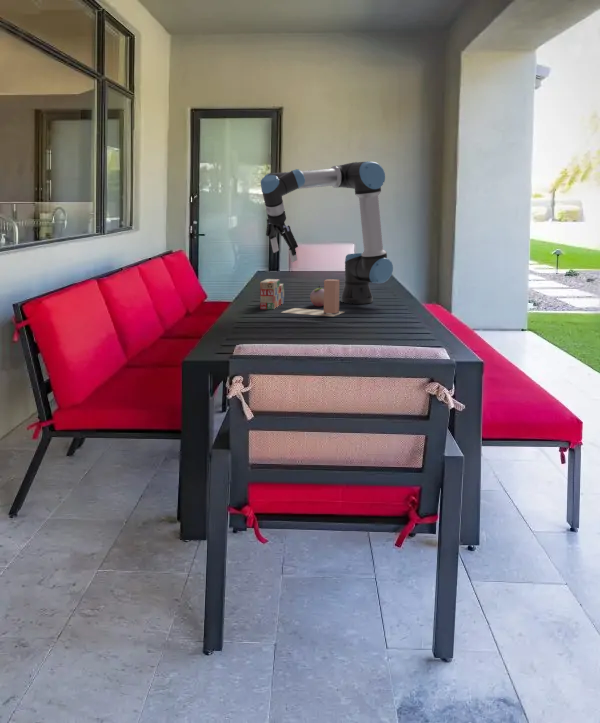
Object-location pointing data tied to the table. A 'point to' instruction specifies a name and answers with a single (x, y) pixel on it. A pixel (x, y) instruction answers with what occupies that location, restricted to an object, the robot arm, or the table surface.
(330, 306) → the block
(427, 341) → the table surface
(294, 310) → the board
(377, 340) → the table surface
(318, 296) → the decorative fruit
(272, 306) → the stack of blocks
